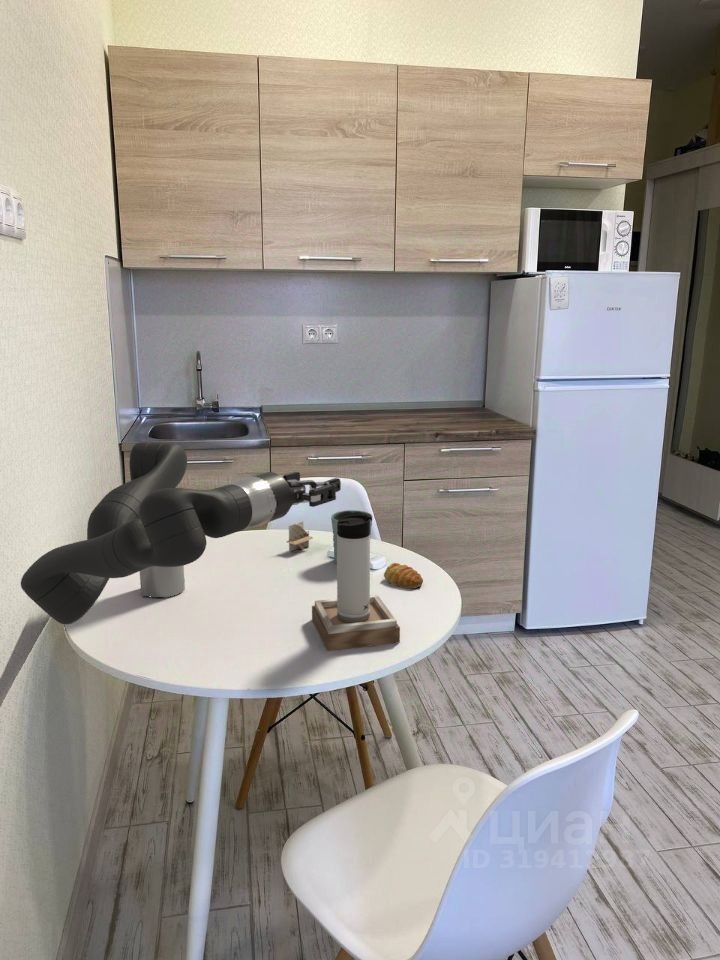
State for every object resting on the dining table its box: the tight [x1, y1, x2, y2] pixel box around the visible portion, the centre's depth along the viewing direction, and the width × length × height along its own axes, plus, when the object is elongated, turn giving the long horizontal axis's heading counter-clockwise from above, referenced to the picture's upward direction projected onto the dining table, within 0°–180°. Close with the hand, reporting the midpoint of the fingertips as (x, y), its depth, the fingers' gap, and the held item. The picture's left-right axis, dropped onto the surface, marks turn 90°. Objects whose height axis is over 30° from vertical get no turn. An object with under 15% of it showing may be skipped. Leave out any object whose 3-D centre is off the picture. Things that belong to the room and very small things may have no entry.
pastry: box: [383, 562, 424, 589], centre depth 162 cm, size 9×7×4 cm
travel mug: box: [336, 515, 373, 623], centre depth 135 cm, size 6×7×20 cm
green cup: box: [331, 509, 373, 565], centre depth 174 cm, size 10×10×12 cm
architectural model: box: [286, 520, 314, 553], centre depth 183 cm, size 3×7×7 cm, turn 143°
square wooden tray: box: [311, 594, 401, 652], centre depth 137 cm, size 14×14×4 cm
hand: (318, 480), depth 122 cm, fingers open, 8 cm apart
